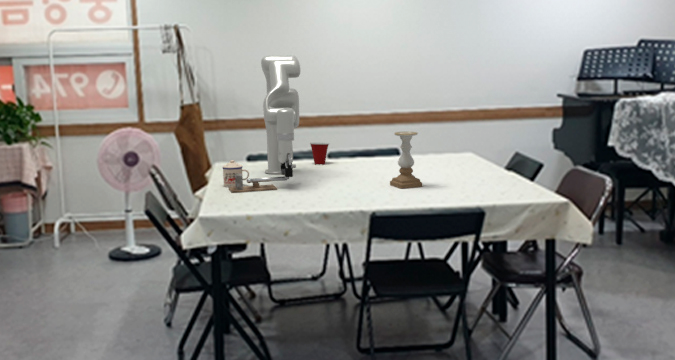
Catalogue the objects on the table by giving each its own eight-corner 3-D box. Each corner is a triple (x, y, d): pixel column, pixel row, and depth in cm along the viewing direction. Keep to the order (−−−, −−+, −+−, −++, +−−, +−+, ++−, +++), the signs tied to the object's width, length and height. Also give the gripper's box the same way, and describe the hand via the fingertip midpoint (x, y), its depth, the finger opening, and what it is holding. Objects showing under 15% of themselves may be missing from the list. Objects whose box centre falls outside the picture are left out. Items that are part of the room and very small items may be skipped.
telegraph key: (272, 186, 308) (272, 170, 306) (277, 189, 298) (276, 174, 297) (228, 189, 302) (227, 173, 301) (231, 193, 293) (231, 177, 291)
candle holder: (389, 185, 305) (389, 132, 301) (410, 183, 310) (410, 130, 306) (401, 188, 295) (401, 134, 291) (422, 186, 300) (423, 132, 296)
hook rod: (291, 179, 307) (290, 167, 306) (293, 181, 302) (293, 169, 301) (245, 182, 301) (245, 170, 300) (247, 184, 296) (247, 172, 296)
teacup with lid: (221, 187, 306) (220, 162, 304) (224, 183, 315) (223, 159, 313) (248, 187, 307) (247, 161, 305) (250, 183, 315) (249, 158, 314)
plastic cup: (333, 163, 375) (333, 141, 373) (322, 166, 366) (322, 143, 364) (317, 162, 380) (316, 140, 378) (306, 164, 371) (305, 142, 369)
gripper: (273, 135, 308) (274, 172, 311) (281, 139, 291) (282, 178, 294) (289, 134, 310) (290, 171, 313) (298, 138, 293) (299, 177, 296)
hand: (286, 175), depth 304 cm, fingers open, 9 cm apart
